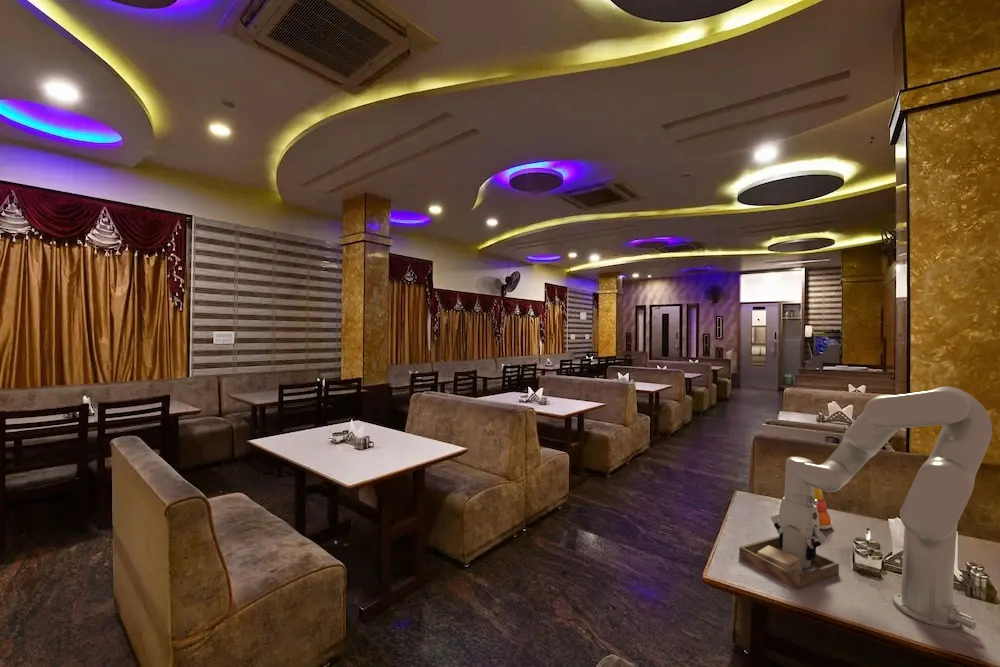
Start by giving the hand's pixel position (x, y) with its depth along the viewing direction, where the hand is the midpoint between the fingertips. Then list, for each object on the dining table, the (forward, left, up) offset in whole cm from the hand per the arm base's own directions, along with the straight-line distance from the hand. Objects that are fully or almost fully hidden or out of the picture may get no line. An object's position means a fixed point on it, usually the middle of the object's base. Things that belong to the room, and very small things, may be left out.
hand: (796, 552), depth 134 cm
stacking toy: (+16, -36, -4) cm, 39 cm away
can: (0, 0, -4) cm, 4 cm away
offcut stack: (0, +9, -3) cm, 10 cm away
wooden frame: (0, +4, -3) cm, 6 cm away
